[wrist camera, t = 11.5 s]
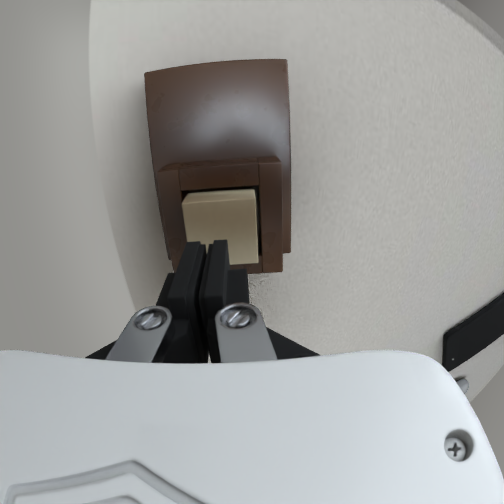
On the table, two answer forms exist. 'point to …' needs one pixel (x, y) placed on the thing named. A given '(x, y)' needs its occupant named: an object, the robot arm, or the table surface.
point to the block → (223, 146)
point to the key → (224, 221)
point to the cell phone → (474, 334)
